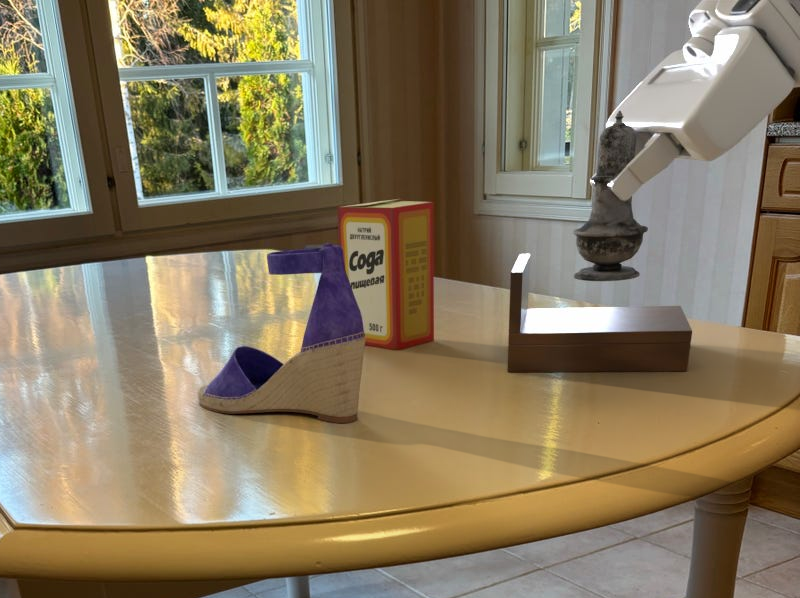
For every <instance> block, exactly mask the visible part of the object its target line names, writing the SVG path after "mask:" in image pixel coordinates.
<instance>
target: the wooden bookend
mask: <svg viewBox="0 0 800 598" xmlns="http://www.w3.org/2000/svg"><path fill="white" fill-rule="evenodd" d="M530 268H531V253H520V254H518V257H517V258H516V261H515V263H514V265H513V267H512V270H510V271H511V272H510V278H509V282H510V284H509V310H508V311H509V312H508V338H507V341H508V343H507V344H508V346H507V373H603V372H605V373H608V372H609V373H612V372H614V373H615V372H617V373H618V372H619V373H622V372H623V373H624V372H629V373H630V372H688V368H689V361H690V353H691V345H692V337H693V329H692V327H691V325H690V323H689V321H688V318H687V316H686V315H685V312H684V310H683V308H682V306H681V305H653V306H652V305H651V306H649V305H648V306H609V307H605V306H604V307H603V306H602V307H567V308H566V307H565V308H563V307H560V308H529V292H530V273H531V272H530Z"/></svg>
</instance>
